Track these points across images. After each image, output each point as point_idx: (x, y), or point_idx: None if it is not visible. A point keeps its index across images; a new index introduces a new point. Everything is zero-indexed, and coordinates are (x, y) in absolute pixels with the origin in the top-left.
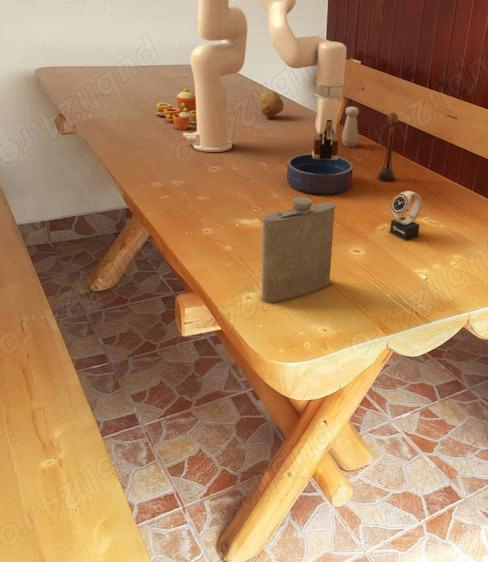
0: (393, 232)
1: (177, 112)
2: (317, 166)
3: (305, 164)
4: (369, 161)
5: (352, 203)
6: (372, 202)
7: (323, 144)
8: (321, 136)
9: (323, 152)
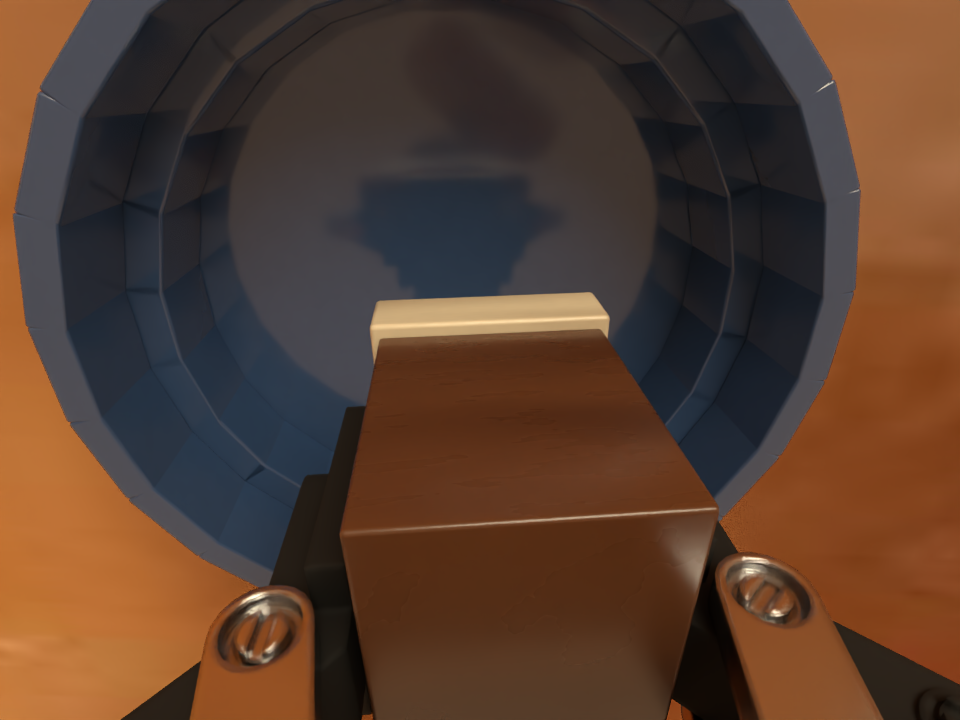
0: None
1: None
2: (711, 296)
3: (722, 172)
4: (882, 600)
5: (82, 488)
6: (152, 590)
7: (221, 638)
8: (660, 649)
9: (304, 508)
